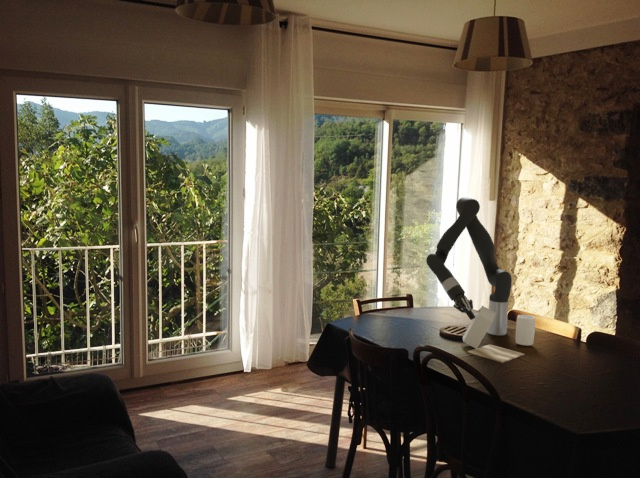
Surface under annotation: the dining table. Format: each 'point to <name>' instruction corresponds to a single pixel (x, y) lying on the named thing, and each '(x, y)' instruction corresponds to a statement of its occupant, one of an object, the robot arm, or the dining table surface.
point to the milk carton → (479, 327)
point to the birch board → (496, 353)
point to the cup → (525, 329)
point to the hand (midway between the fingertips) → (473, 318)
